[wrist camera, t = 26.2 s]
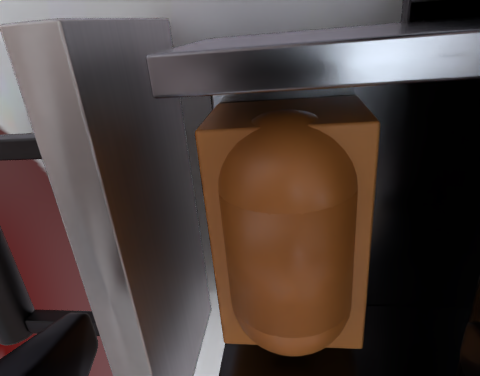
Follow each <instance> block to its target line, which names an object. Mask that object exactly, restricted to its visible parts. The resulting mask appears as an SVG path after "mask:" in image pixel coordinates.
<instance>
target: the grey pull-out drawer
mask: <svg viewBox="0 0 480 376" xmlns="http://www.w3.org/2000/svg"><path fill="white" fill-rule="evenodd" d="M0 31H1V34H2V37H3V40H4V43H5V46H6V49H7V52H8V55H9V58H10V61H11V65H12V68H13V71H14V74H15V77H16V80H17V83H18V86H19V89H20V92H21V95H22V98H23V101H24V104H25V107H26V110H27V114H28V117H29V120H30V123H31V126H32V129H33V132H34V133H30V134H9V135H0V160H26V159H43V163H44V166H45V169H46V172H47V175H48V178H49V181H50V184H51V187H52V190H53V193H54V196H55V199H56V202H57V205H58V208H59V211H60V215H61V218H62V221H63V224H64V227H65V230H66V233H67V236H68V239H69V242H70V245H71V248H72V251H73V254H74V257H75V260H76V264H77V266H78V270H79V273H80V276H81V279H82V282H83V285H84V288H85V291H86V294H87V297H88V300H89V303H90V306H91V310H92V311H64V310H61V311H60V310H35V309H34V307H33V304H32V302H31V299H30V297H29V295H28V292H27V290H26V287H25V285H24V282H23V280H22V278H21V275H20V273H19V271H18V268H17V265H16V263H15V260H14V258H13V256H12V253H11V251H10V248H9V246H8V243H7V241H6V239H5V236H4V234H3V231H2V229H1V226H0V344H2V345H12V344H16V343H19V342H21V341H23V340H25V339H27V338H28V337H29V336H31V335H32V334H33V333H40V332H41V331H42V330H44V329H45V328H47V327H48V326H50V325H51V324H53V323H54V322H56V321H57V320H59V319H60V318H62V317H63V316H65V315H66V314H68V313H87V314H88V315H89V316H90V318H91V321H92V324H93V327H94V330H95V333H96V336H100V337H101V340H102V343H103V346H104V349H105V352H106V355H107V358H108V362H109V365H110V368H111V371H112V374H113V376H194V372H195V369H196V365H197V361H198V357H199V354H200V350H201V346H202V342H203V339H204V335H205V331H206V328H207V324H208V320H209V316H210V313H211V302H210V295H209V288H208V281H207V275H206V268H205V261H204V254H203V247H202V241H201V234H200V227H199V220H198V214H197V207H196V200H195V193H194V186H193V180H192V173H191V166H190V159H189V152H188V146H187V139H186V132H185V125H184V118H183V112H182V105H181V98H180V97H195V96H211V105H212V110H213V109H214V108H215V107H216V105H217V104H219V103H235V102H251V101H268V100H285V99H301V98H318V97H335V96H351V95H356V96H358V97H359V98H360V100H361V101H362V102H363V103H364V104H365V105H366V107H367V108H368V109H369V110H370V111H371V112H372V113H373V115H374V116H375V117H376V118H377V119H378V120H379V122H380V137H379V149H378V162H377V175H376V188H375V201H374V213H373V226H372V239H371V252H370V265H369V277H368V290H367V303H366V316H365V329H364V342H363V348H362V349H350V348H324V349H322V350H320V351H318V352H315V353H313V354H308V355H303V356H284V355H279V354H276V353H273V352H270V351H268V350H266V349H264V348H262V347H260V346H259V345H249V344H226V343H225V347H224V352H223V357H222V362H221V367H220V372H219V376H456V372H457V368H458V364H459V360H460V348H461V344H462V340H463V336H464V332H465V328H466V325H467V324H468V322H469V318H470V314H471V310H472V306H473V302H474V298H475V293H476V289H477V285H478V281H479V277H480V16H471V17H459V18H447V19H435V20H423V21H411V22H399V23H387V24H375V25H363V26H351V27H339V28H327V29H315V30H303V31H291V32H279V33H267V34H255V35H243V36H231V37H219V38H210V39H206V40H202V41H198V42H194V43H190V44H186V45H182V46H178V47H174V48H173V44H172V37H171V30H170V23H169V19H168V18H57V19H47V20H37V21H26V22H16V23H6V24H1V25H0Z"/></svg>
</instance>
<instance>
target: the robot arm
mask: <svg viewBox="0 0 480 376" xmlns="http://www.w3.org/2000/svg"><path fill="white" fill-rule="evenodd" d="M97 348H98V340H97V336H96V333H95V330H94V327H93V324H92V321H91V318H90V316H89V315H88V314H87V313H68V314H66V315H65V316H63V317H62V318H60V319H59V320H57V321H56V322H54V323H53V324H51V325H50V326H48V327H47V328H45V329H44V330H42V331H41V332H40V333H38V334H37V335H35V336H34V337H32V338H31V339H29V340H28V341H26V342H25V343H23V344H22V345H21V346H19V347H17V348H16V349H15V350H13V351H12V352H10V353H9V354H7V355H6V356H4V357H3V358H1V359H0V376H88V375H89V372H90V370H91V367H92V364H93V361H94V358H95V355H96V352H97ZM460 362H461V366H462V369H463V372H464V375H465V376H480V322H475V321H472V322H469V323H468V324H467V325H466V328H465V332H464V336H463V340H462V344H461V348H460Z"/></svg>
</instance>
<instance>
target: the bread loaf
mask: <svg viewBox="0 0 480 376" xmlns="http://www.w3.org/2000/svg"><path fill="white" fill-rule="evenodd" d="M379 137H380V122H379V120H378V119H377V118H376V117H375V116H374V115H373V113H372V112H371V111H370V110H369V109H368V108H367V107H366V105H365V104H364V103H363V102H362V101H361V100H360V98H359V97H358V96H356V95H351V96H335V97H318V98H301V99H285V100H268V101H251V102H235V103H219V104H217V105H216V107H215V108H214V109H213V110H212V111H211V113H210V114H209V115H208V116H207V117H206V119H205V120H204V121H203V122H202V123H201V125H200V126H199V127H198V128H197V129H196V130H195V139H196V146H197V153H198V160H199V167H200V175H201V182H202V189H203V196H204V203H205V210H206V217H207V224H208V231H209V239H210V246H211V253H212V260H213V267H214V274H215V281H216V288H217V296H218V303H219V310H220V317H221V324H222V331H223V338H224V342H225V343H226V344H249V345H259V346H260V347H262V348H264V349H266V350H268V351H270V352H273V353H276V354H279V355H284V356H303V355H308V354H313V353H315V352H318V351H320V350H322V349H324V348H350V349H362V348H363V342H364V329H365V316H366V303H367V290H368V277H369V265H370V252H371V239H372V226H373V213H374V201H375V188H376V175H377V162H378V149H379Z"/></svg>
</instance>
